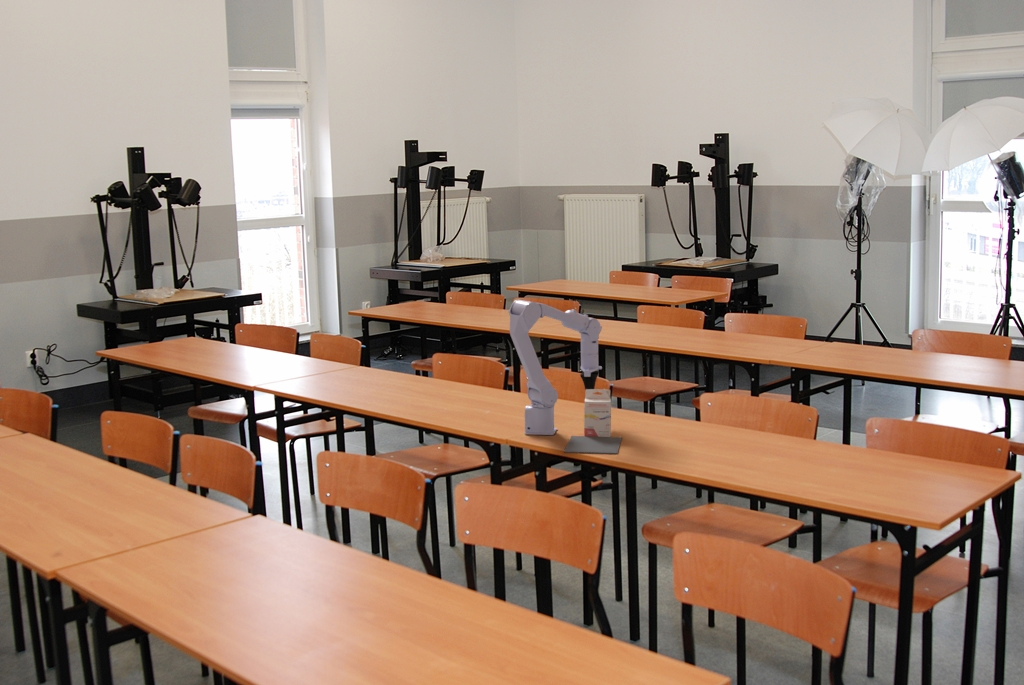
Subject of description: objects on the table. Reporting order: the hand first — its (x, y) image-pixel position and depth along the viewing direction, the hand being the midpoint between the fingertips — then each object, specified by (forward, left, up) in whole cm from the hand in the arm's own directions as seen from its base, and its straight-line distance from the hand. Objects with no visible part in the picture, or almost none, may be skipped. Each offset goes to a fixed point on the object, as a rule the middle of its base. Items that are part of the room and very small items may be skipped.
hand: (589, 393), depth 328 cm
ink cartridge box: (+4, -14, -11) cm, 18 cm away
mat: (+4, -26, -10) cm, 28 cm away
